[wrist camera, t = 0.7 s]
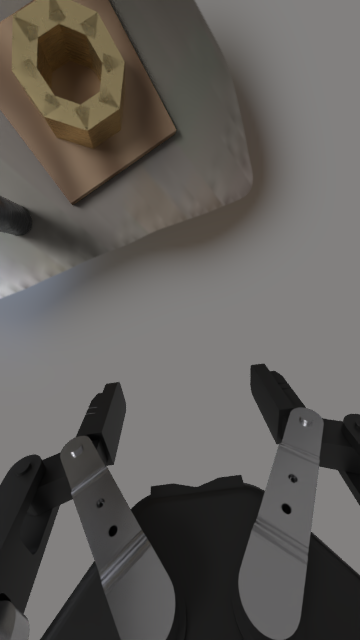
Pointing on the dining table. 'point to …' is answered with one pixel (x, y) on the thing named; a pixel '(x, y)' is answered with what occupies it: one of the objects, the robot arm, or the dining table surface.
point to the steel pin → (14, 218)
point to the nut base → (78, 92)
